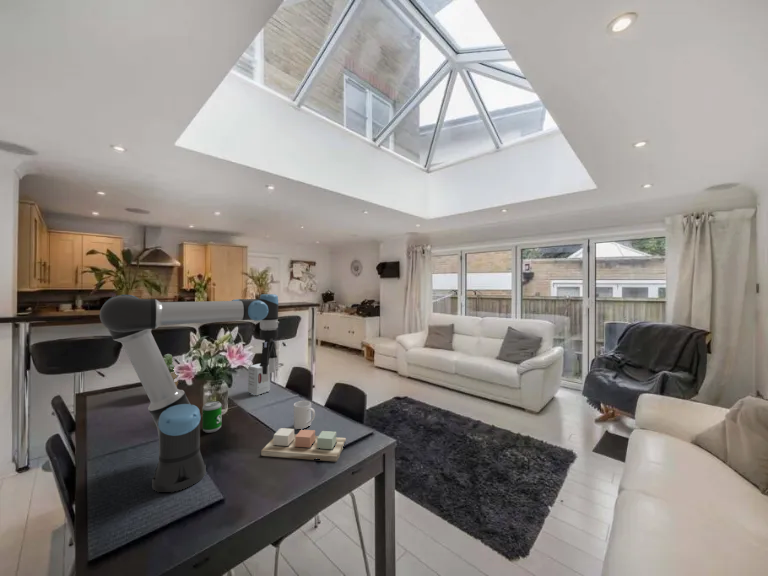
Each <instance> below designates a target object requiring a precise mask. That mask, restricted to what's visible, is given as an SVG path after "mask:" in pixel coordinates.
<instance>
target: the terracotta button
mask: <svg viewBox="0 0 768 576" xmlns="http://www.w3.org/2000/svg"><path fill="white" fill-rule="evenodd" d="M298 431H299V432H298V433H297V434H296V436H295V447H298V448H307V449H311V447H312V446H313V445H312V444H313V442H314V441H315V436H316V430H315V429H304V430H302V429H301V430H298Z"/></svg>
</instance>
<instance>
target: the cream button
mask: <svg viewBox="0 0 768 576" xmlns="http://www.w3.org/2000/svg"><path fill="white" fill-rule="evenodd" d="M294 434H295V428H288V427H287V428H285V427H283V428H282V427H280V428H278V430H277V431H275V433H274V434H273V438H274V445H278V446H280V447H289V446H290V445H291V442H292V441H293V439H294Z"/></svg>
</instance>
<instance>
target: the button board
mask: <svg viewBox="0 0 768 576" xmlns="http://www.w3.org/2000/svg"><path fill="white" fill-rule="evenodd" d="M296 435H297V434H295V433H294V439H293V441H292V442H291V443H290V444H289V445H288V446H280V445H274V437H273V438H272V439H270V441H269V442H268V443H267V444H266V445H265V446H264V447H263V448H262V449H261V451H260V452H261V453H260V455H261V456H263V457H272V458H273V457H275V458H284V459H285V458H287V459H300V460H311V461H315V460H314V459H316V458H317V459H320V460H319V461H324V462H325V461H326V462H338V461H339V458H340V456H341V455H342V452H343V449H344V448H343V446H344V443H345V441H346V442H347V438H346V437H337V436H336V443H335V444H336V445H335V447H333V449H319V448H317V438H318V436H319V435H315V441H314V442H313V443H314V444H313V445H311V447H310V448H306V447H295V436H296ZM344 447H345V446H344Z"/></svg>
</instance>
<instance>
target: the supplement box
mask: <svg viewBox="0 0 768 576" xmlns="http://www.w3.org/2000/svg"><path fill="white" fill-rule="evenodd" d="M260 364H261V362H260V363H256V364H251V365H249V366H250V367H248V371H247V374H248V375H247V393H248V392H250V393H253V394H256V395H258V394H261V393H263V392H266V391H269V390H270V391H271V373H269V381H267V382H262V366H261V367H260ZM268 366H269V364H268Z"/></svg>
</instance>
